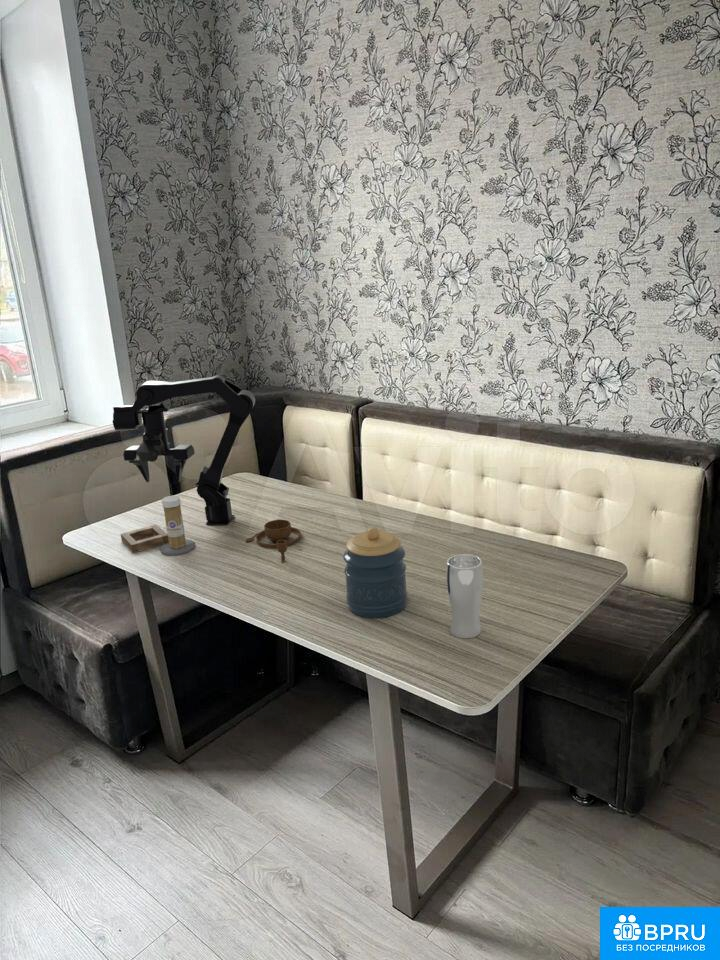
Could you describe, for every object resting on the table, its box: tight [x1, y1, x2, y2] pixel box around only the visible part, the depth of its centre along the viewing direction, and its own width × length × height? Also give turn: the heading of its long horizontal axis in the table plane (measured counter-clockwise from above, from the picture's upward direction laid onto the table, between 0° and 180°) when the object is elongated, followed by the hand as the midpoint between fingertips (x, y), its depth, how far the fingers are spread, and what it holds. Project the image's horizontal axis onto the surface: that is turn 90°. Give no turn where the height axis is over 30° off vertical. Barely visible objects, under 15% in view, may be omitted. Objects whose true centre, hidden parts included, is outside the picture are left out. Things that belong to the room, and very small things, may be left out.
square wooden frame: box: [120, 524, 169, 554], centre depth 198 cm, size 10×10×2 cm
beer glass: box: [445, 553, 484, 639], centre depth 142 cm, size 7×7×15 cm
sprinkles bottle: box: [161, 495, 186, 549], centre depth 191 cm, size 5×5×13 cm
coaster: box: [159, 538, 196, 556], centre depth 193 cm, size 9×9×1 cm
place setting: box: [245, 519, 302, 563], centre depth 190 cm, size 18×20×6 cm
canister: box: [342, 526, 408, 619], centre depth 154 cm, size 13×13×18 cm
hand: (163, 481), depth 205 cm, fingers open, 9 cm apart
